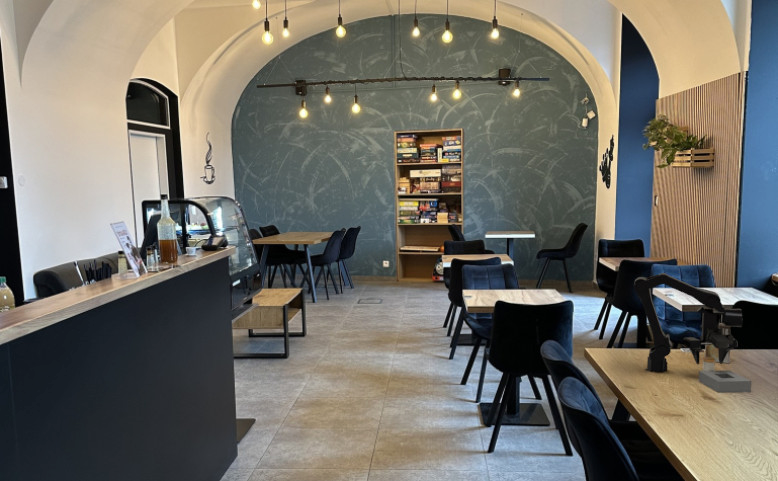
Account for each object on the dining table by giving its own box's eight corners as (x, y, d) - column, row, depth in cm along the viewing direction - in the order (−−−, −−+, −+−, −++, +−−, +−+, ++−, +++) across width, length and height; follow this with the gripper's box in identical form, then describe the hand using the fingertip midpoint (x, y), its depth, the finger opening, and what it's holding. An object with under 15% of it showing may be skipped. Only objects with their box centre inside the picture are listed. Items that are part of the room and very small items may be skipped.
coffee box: (728, 359, 242) (730, 323, 241) (729, 363, 237) (731, 326, 235) (704, 357, 247) (705, 321, 245) (704, 361, 241) (706, 324, 240)
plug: (706, 380, 216) (707, 360, 215) (700, 377, 220) (701, 357, 219) (716, 380, 216) (717, 360, 216) (710, 377, 220) (711, 357, 220)
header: (718, 395, 201) (718, 381, 201) (698, 383, 213) (699, 371, 213) (750, 394, 202) (751, 380, 201) (729, 383, 213) (729, 370, 213)
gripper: (699, 330, 208) (698, 371, 209) (748, 329, 209) (746, 369, 210) (682, 323, 219) (681, 362, 220) (729, 322, 220) (727, 360, 221)
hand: (709, 363), depth 218 cm, fingers open, 9 cm apart
